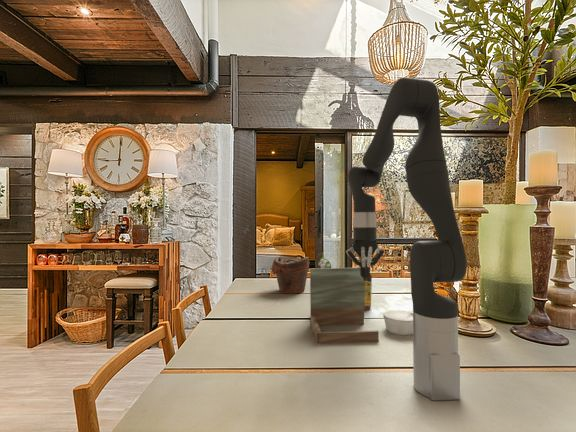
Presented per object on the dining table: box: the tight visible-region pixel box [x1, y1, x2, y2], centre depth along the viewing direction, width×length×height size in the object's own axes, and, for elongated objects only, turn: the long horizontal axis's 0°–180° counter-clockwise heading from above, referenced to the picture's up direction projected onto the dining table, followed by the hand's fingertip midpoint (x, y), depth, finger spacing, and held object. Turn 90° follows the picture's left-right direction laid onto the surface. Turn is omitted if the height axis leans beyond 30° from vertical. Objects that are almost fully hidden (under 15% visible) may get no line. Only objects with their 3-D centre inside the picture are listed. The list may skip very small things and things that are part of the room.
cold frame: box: [309, 267, 380, 344], centre depth 111 cm, size 17×19×20 cm
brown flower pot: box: [270, 256, 311, 294], centre depth 171 cm, size 18×20×18 cm
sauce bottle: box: [364, 273, 373, 311], centre depth 139 cm, size 6×6×20 cm
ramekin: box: [382, 310, 413, 336], centre depth 113 cm, size 11×11×5 cm
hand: (365, 278), depth 111 cm, fingers closed
